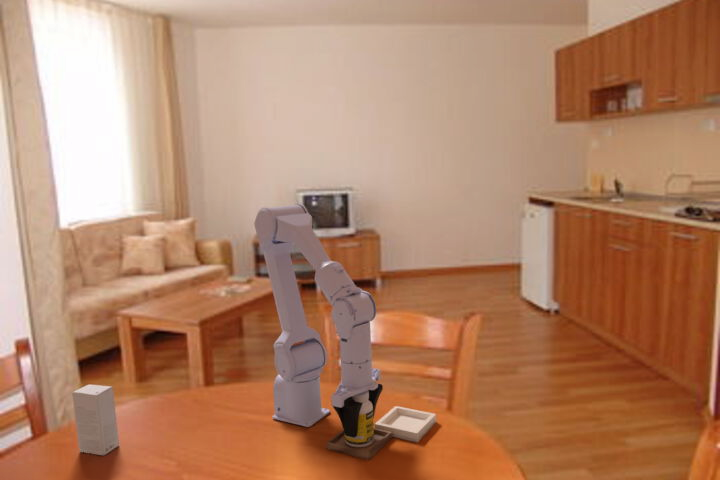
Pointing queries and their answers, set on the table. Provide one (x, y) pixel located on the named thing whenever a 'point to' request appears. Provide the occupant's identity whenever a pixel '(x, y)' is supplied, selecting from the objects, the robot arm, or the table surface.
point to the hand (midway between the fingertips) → (359, 428)
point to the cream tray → (407, 423)
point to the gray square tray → (363, 452)
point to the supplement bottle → (363, 423)
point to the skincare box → (95, 419)
